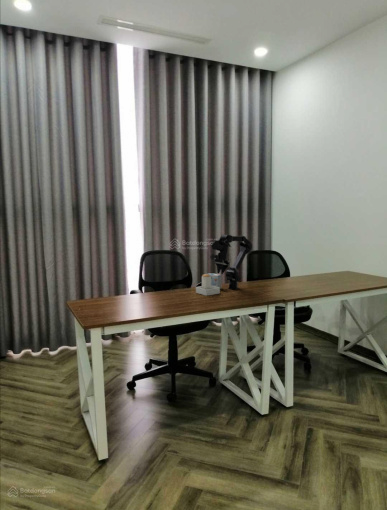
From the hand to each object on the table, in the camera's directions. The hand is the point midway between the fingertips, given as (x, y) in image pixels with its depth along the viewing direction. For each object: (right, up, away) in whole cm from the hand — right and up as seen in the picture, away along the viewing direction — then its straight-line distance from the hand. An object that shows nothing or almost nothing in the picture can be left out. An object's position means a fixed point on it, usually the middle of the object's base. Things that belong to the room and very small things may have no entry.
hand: (220, 273), depth 260 cm
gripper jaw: (-10, -13, -3) cm, 16 cm away
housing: (-9, -14, -2) cm, 16 cm away
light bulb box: (-4, -12, +13) cm, 18 cm away
